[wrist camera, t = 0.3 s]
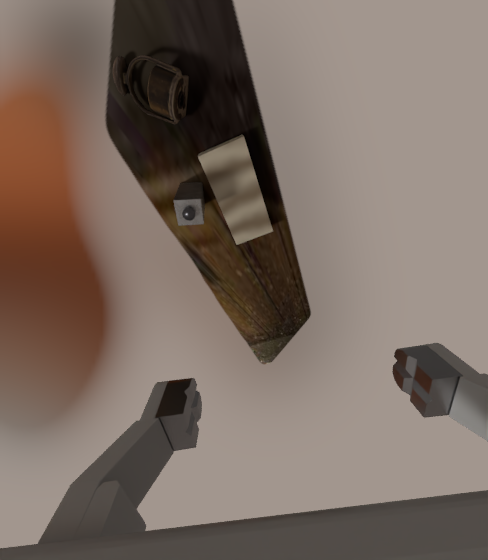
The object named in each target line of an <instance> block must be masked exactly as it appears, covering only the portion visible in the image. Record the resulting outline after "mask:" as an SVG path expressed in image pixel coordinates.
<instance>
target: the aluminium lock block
mask: <svg viewBox="0 0 488 560" xmlns="http://www.w3.org/2000/svg"><path fill="white" fill-rule="evenodd" d="M173 201H174V206H175V210H176V215H177V220H178V225H195V224H204V210H205V201H204V193H203V185H202V182H194V183H180V185H179V187H178V190H177V193H176V195H175V198H174V200H173Z"/></svg>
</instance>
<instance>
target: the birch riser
mask: <svg viewBox="0 0 488 560" xmlns="http://www.w3.org/2000/svg"><path fill="white" fill-rule="evenodd" d="M198 158H199V160H200V163H201V165H202V167H203V169H204V172H205V174H206V176H207V179H208V181H209V183H210V185H211V188H212V190H213V192H214V194H215V197H216V199H217V201H218V204H219V206H220V208H221V210H222V213H223V215H224V217H225V219H226V222H227V224H228V226H229V229H230V231H231V233H232V235H233V238H234V240H235V242H236V244H237V245H238V244H241V243H243V242H246V241H249V240H251V239H254V238H256V237H259V236H262V235H264V234H267V233H270V232H272V231H273V230H272V226H271V223H270V220H269V216H268V213H267V210H266V207H265V203H264V200H263V197H262V194H261V190H260V187H259V184H258V180H257V177H256V174H255V171H254V167H253V164H252V161H251V158H250V154H249V151H248V148H247V144H246V141H245V138H244V136H243V135H240V136H237V137H235V138H233V139H231V140H229V141H226V142H224V143H222V144H220V145H217V146H215V147H213V148H211V149H208V150H206V151H204V152H202V153H199V154H198Z"/></svg>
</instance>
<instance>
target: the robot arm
mask: <svg viewBox="0 0 488 560" xmlns="http://www.w3.org/2000/svg"><path fill="white" fill-rule="evenodd" d="M394 357H395V358H396V359H397V362H396V363H395V364H394V365H393V375H394V379H395V381H396V383H397V385H398V386H399V387H400V389H401V390H402V391H404V392H406V393H408V394H409V395H410V401H411V402H412V403H413V405H414V406H415V407H416V408H417V410H418V411H419V412H420V413H421V414H422V416H423V417H433V416H443V415H449V417H451V418H452V419H454V420H455V421H457V422H459V423H460V424H462V425H463V426H465V427H466V428H468V429H470V430H471V431H473V432H474V433H476V434H477V435H479V436H480V437H482V438H484V439H485V440H487V441H488V375H487V374H479V373H478V372H477V371H475V370H474V369H473V368H472V367H470V366H469V365H468V364H466V363H465V362H464V361H462V360H461V359H460V358H459V357H457V356H456V355H454V354H453V353H452V352H451V351H449V350H448V349H447V348H445V347H444V346H443V345H441V344H439V343H433V344H426V345H420V346H414V347H407V348H400V349H397V350H396V351H395V355H394ZM196 386H197V384H196V381H195V379H194V378H190V379H181V380H172V381H165V382H157V384H156V385H155V386H154V388H153V390H152V393H151V395H150V397H149V400H148V402H147V405H146V407H145V409H144V412H143V414H142V417H141V419H140V420H139V421H136V422H135V423H134V424H133V425H132V426H131V427H130V428H128V429H127V431H125V432H124V434H122V435H121V436H120V437H119V438H118V439H117V440H116V441H115V442H114V443H113V444H112V445H111V446H110V447H109V448H108V449H107V450H106V451H105V452H104V453H103V454H102V455H101V456H100V457H99V458H98V459H97V460H96V461H95V462H94V463H93V464H91V466H89V467H88V468H87V469H86V470H85V471H84V472H83V473H82V474H81V475H80V476H79V477H78V478H77V479H76V480H75V481H74V482H73V483H72V484H71V485H70V488H69V489H68V491H67V492H66V494H65V496H64V498H63V500H62V501H61V503H60V505H59V507H58V508H57V510H56V512H55V514H54V516H53V517H52V519H51V521H50V523H49V524H48V526H47V528H46V530H45V532H44V534H43V535H42V537H41V539H40V541H39V542H38V544H34V545H26V546H18V547H9V548H1V549H0V560H488V490H487V491H478V492H469V493H461V494H452V495H444V496H435V497H427V498H419V499H411V500H402V501H394V502H386V503H377V504H369V505H360V506H352V507H344V508H335V509H326V510H318V511H311V512H301V513H293V514H284V515H276V516H268V517H260V518H251V519H244V520H234V521H227V522H218V523H210V524H201V525H193V526H185V527H177V528H168V529H160V530H152V531H145V529H146V524H145V522H144V520H143V519H142V517H141V516H140V514H139V513H138V511H137V510H136V509H137V507H138V505H139V504H140V503H141V501H142V500H143V498H144V497H145V495H146V493H147V492H148V491H149V489H150V488H151V486H152V484H153V483H154V481H155V480H156V478H157V477H158V475H159V474H160V472H161V471H162V469H163V468H164V466H165V465H166V463H167V462H168V460H169V459H170V457H171V455H172V454H173V451H176V450H182V449H189V448H194V447H196V443H197V437H198V431H199V428H198V426H197V422H198V420H199V419H200V418H201V411H202V410H201V409H202V408H201V407H202V402H201V396H200V393H199V392H198V391H196Z"/></svg>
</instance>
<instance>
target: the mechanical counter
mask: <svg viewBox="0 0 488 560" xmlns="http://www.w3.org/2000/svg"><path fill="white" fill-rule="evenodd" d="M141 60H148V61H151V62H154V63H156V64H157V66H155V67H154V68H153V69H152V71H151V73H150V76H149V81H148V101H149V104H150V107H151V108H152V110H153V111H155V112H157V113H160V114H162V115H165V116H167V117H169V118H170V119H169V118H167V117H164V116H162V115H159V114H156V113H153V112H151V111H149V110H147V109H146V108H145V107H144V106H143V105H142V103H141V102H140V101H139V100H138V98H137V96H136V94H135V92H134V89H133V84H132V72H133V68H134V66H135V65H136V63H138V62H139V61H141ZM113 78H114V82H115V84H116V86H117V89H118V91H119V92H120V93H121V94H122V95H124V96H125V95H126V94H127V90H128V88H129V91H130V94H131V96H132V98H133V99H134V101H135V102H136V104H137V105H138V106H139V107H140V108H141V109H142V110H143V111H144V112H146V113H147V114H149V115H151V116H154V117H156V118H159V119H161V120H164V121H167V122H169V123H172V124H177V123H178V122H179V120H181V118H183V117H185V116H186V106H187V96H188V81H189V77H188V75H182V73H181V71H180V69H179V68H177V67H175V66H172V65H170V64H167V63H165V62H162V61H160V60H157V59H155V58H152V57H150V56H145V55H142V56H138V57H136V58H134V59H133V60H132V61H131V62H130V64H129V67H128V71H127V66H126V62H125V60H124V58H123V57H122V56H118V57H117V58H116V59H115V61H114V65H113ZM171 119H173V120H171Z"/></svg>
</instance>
